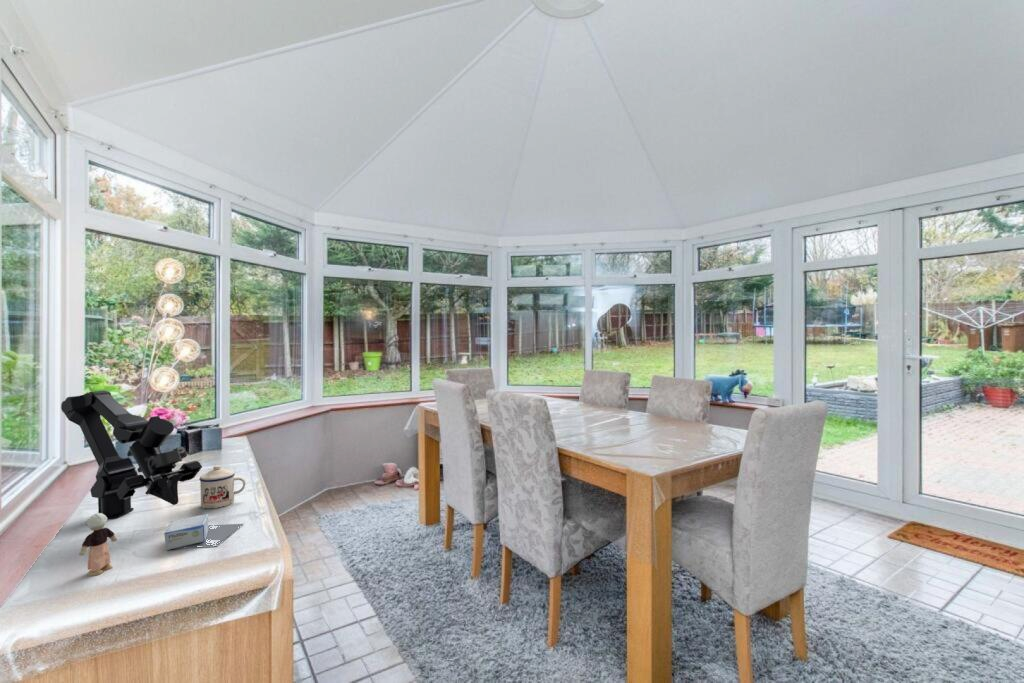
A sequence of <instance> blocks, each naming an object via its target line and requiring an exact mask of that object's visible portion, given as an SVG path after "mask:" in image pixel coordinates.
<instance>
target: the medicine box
mask: <svg viewBox="0 0 1024 683" xmlns="http://www.w3.org/2000/svg"><path fill="white" fill-rule="evenodd" d="M208 515H209V514H207V513H206V514H202V515H195V516H192V517H191V516H190V517H186V518H183V519H178V520H174V521H173V520H172V521H170V522H169V524H168V527H166V529H165V531H164V534H163V535H164V544H165V550H166V551H168V550H169V551H170V550H173V549H179V548H178V547H183V546H187V545H192V544H196V543H200V542H204V541H205V539H206V536H207V533H208V530H209V528H208V525H209V517H208Z"/></svg>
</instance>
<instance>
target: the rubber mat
mask: <svg viewBox="0 0 1024 683" xmlns="http://www.w3.org/2000/svg"><path fill="white" fill-rule="evenodd" d="M243 524H244V523H229V524H208V528H209V527H210V526H213V525H214V526H218V527H217V528H216V529H215V528H214V529H210V528H212V527H210V528H209V530H208V533H207V536H206V539H205V541H204V542H200V543H196V544H192V545H187V546H183V547H178V548H177V549H185V548H184V547H197V546H213V545H215V544H213V545H211V544H212V543H207V542H206V540H207V539H208V540H210V539H211V540H220V541H218V542H217V543H218V544H217V543H216V545H219V544H220V543H221V542H222V541H224V540H225V539H226V538H227V537H228V538H230V537H231V536H232V535H233V534H235V533H236V532H237V531H238V530H239V529H238V527H240V526H242V525H243ZM219 526H220V527H219ZM243 526H244V525H243ZM243 526H242V527H243ZM237 529H238V530H237ZM236 530H237V531H236ZM235 531H236V532H235ZM232 533H233V534H232ZM231 534H232V535H231ZM230 535H231V536H230ZM229 536H230V537H229ZM228 538H227V539H228ZM227 539H226V540H227ZM208 540H207V541H208ZM211 540H210V541H211ZM226 540H225V541H226ZM210 541H209V542H210ZM225 541H224V542H225ZM219 542H220V543H219ZM206 543H207V544H210V545H207V544H206ZM214 543H215V542H214ZM222 543H223V542H222ZM222 543H221V544H222ZM221 544H220V545H221ZM220 545H219V546H220Z"/></svg>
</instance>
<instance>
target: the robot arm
mask: <svg viewBox="0 0 1024 683" xmlns="http://www.w3.org/2000/svg"><path fill="white" fill-rule="evenodd" d="M60 404H61V405H60V409H61V412H62V413H63V414H64V415H65V417H66V418H67V419H68V421H70V422H71V423H73V424H76V425H78V426H79V427H80V430H81V431H82V434H83V436H84V438H85V441H86V442H87V445H88V446H89V448H90V450H91V452H92V455H93V457H94V458H95V461H96V463H97V465H98V469H97V471H96V474H95V482H94V483H93V485H92V486H91V488H90V490H89V491H90V495H91V498H96V499H97V500H98V501H97V504H98V506H97V509H98V513H102V514H104V515H105V516H106V517H107V519H116V518H120V517H122V516H124V515H126V514H128V513H129V512H132V511H133V510H134V509H135V508H134V507H132V497H133V496H134V495H135V493H136V490H137V489H139V488H144V487H145V488H146V491H145V494H146V495H147V496H148V495H151V496H154V497H156V498H159V499H161V500H163V501H164V502H167V503H168V504H171V505H172V506H177V504H178V503H179V490H178V486H179V485H178V484H179V482H180V483H183V482H187V481H190V480H192V479H194V478H195V477H196V476H197V475H198V473H199V472H200V471H201V469H202V468H203V465H202V463H201V462H200V461H199V460H193V461H188V462H185V463H183V464H182V465H181V466H180V467H179V469H177V470H173V469H175V468H176V467H177V463H179V462H182V461H183V459H185V458H186V457H187V456H188V454H187V450H186V448H185V447H184V446H177V447H176V448H174V449H173V450H170V451H165V452H162V451H161V448H160V447H162V446H163V445H164V444H165V442H166V441H167V440H168V438H169V437H170V436H171V434H172V433H173V431H174V429H175V426H174V424H173V423H172V422H171V421H169V420H167V419H164V418H161V417H160V416H159V415H154V416H150V418H148V419H146V418H144V417H142V416H139V415H136V414H132V413H131V412H129V411H128V410H127V409H126V408H125V407H124V406H123V405H122V404H121V403H120V402H118V401H117V400H116V399H115V398H114V397H113V396H112V393H111V392H110V390H97V391H96V390H95V391H90V392H87V393H84V394H81V395H74V396H68V397H66V398H65V400H63V401H62V402H61V403H60ZM101 417H102V418H103V419H104V420H105V421H106V422H107V423H108V424H110V425H111V426H112V428H113V429H112V430H113V431H112V435H113V436H114V437H115V440H117V441H118V443H120V444H123V445H125V444H128V443H132V444H131V445H129V449H128V451H127V454H126V455H127V457H126V458H123V457H121V456H120V455H119V452H118V451H117V449H116V447H115V445H114V442H113V440H112V439H111V437H110V434H109V433H108V430H107V429H106V426H105V425H104V423H103V421H102V419H101ZM132 456H133V459H134V460H135V462H136V464H137V466H138V468H136V467H135V465H134V464H133V461H132V459H131V458H130V457H132ZM136 469H137V470H136ZM138 473H142V474H138Z"/></svg>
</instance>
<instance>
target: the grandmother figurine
mask: <svg viewBox="0 0 1024 683" xmlns="http://www.w3.org/2000/svg"><path fill="white" fill-rule="evenodd" d="M107 522H108V518H107V517H106V516H105V515H104V514H102V513H94V514H92V515H91V516H89V517H88V518H87V522H86V523H87V524H86V525H87V527H88V528H89V529H90V530H91V533H89V534H88V535H87V536H86V537H85V539H84V540H83V542H82V545H81V548H80V551H79V553H78V554H79V556H84V555H86V554H87V550H88V559H87V570H88V572H87V574H86V576H87V577H92V576H99V575H102V574H103V573H104V571H107V570H110V569H112V568H113V566H112V565H111V553H110V550H109V549H110V548H109V545H108V539H109V540H111V542H112V543H115V542H117V541H118V537H116V535H115V533H114V531H112V530H111V529H110V528H108V527H105V525H106V523H107ZM88 548H89V549H88Z"/></svg>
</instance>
